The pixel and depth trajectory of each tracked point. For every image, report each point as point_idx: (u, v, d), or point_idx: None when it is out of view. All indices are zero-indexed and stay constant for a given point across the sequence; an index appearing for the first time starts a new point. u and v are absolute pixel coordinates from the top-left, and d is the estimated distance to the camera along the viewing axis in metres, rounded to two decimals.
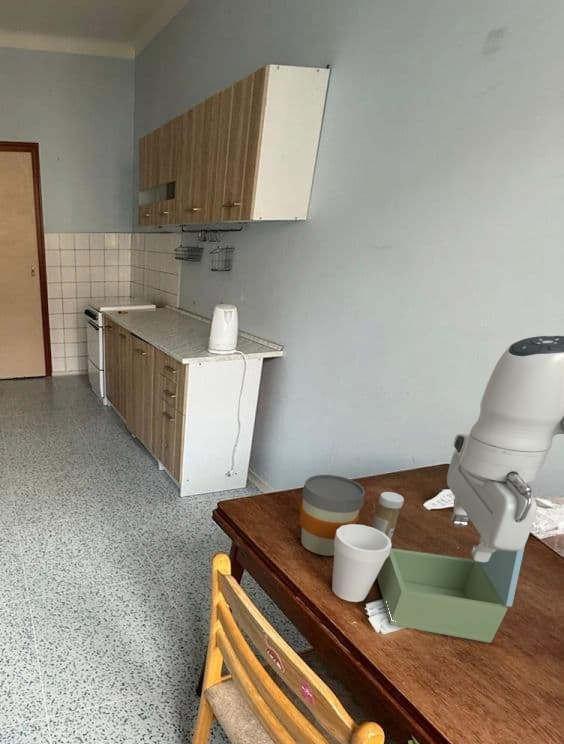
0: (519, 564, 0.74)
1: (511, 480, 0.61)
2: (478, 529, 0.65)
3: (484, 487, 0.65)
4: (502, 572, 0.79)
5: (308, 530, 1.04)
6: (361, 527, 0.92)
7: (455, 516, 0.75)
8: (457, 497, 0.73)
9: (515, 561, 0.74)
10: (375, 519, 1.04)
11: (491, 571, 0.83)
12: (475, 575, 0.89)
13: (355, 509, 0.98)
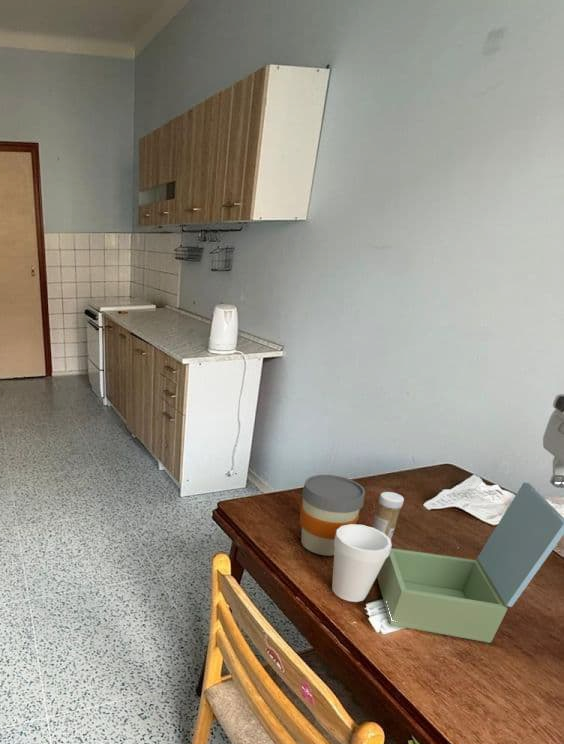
0: (538, 567, 0.74)
1: None
2: None
3: None
4: (512, 573, 0.79)
5: (308, 530, 1.04)
6: (361, 527, 0.92)
7: (555, 477, 0.76)
8: (559, 457, 0.74)
9: (536, 563, 0.74)
10: (375, 519, 1.04)
11: (495, 571, 0.83)
12: (475, 575, 0.89)
13: (355, 509, 0.98)
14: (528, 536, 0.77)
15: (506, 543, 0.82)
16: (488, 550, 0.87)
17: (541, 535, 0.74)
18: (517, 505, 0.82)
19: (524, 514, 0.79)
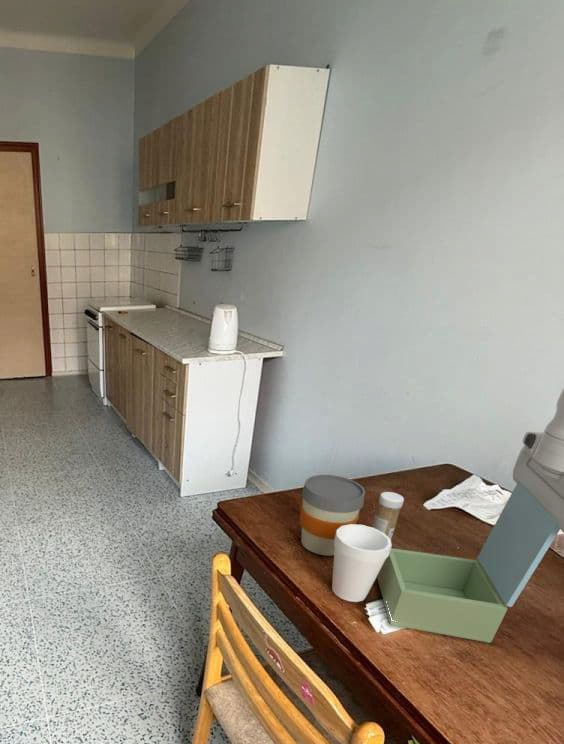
0: (535, 566, 0.74)
1: None
2: None
3: (559, 480, 0.71)
4: (510, 572, 0.79)
5: (308, 530, 1.04)
6: (361, 527, 0.92)
7: None
8: None
9: (532, 563, 0.74)
10: (375, 519, 1.04)
11: (494, 571, 0.83)
12: (475, 575, 0.89)
13: (355, 509, 0.98)
14: (524, 535, 0.77)
15: (504, 543, 0.82)
16: (487, 550, 0.87)
17: (536, 534, 0.74)
18: (513, 504, 0.82)
19: (520, 513, 0.79)
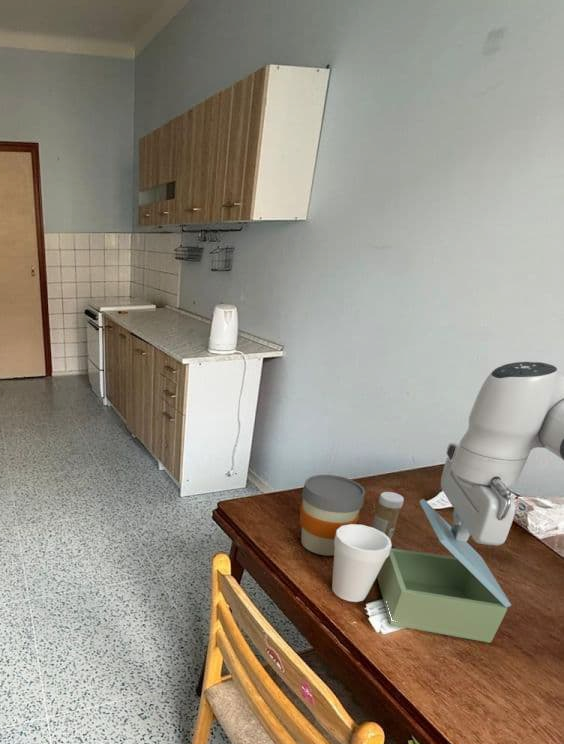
0: (476, 572, 0.77)
1: (494, 484, 0.71)
2: (466, 526, 0.76)
3: (472, 490, 0.75)
4: None
5: (308, 530, 1.04)
6: (361, 527, 0.92)
7: (454, 527, 0.82)
8: (449, 498, 0.83)
9: (471, 572, 0.77)
10: (375, 519, 1.04)
11: None
12: None
13: (355, 509, 0.98)
14: None
15: None
16: None
17: None
18: None
19: None
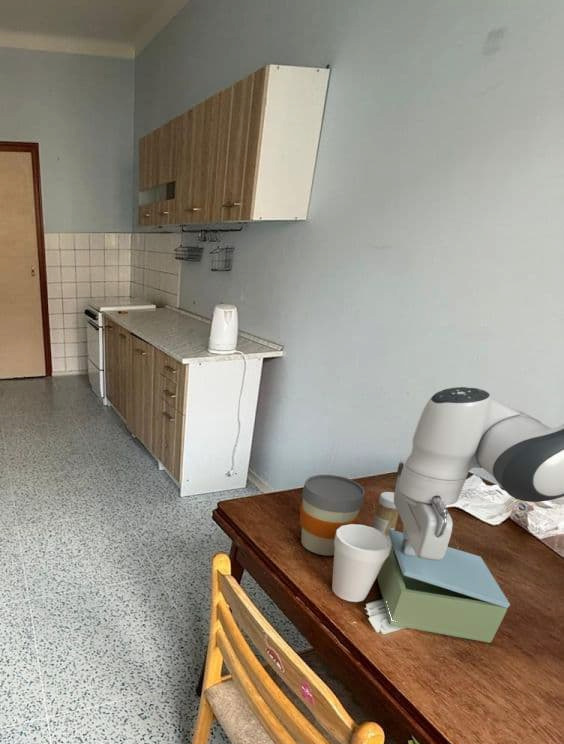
0: (455, 588, 0.79)
1: (434, 503, 0.75)
2: (411, 542, 0.80)
3: (416, 507, 0.79)
4: None
5: (308, 530, 1.04)
6: (361, 527, 0.92)
7: (404, 541, 0.86)
8: (399, 514, 0.87)
9: (450, 589, 0.80)
10: (375, 519, 1.04)
11: None
12: None
13: (355, 509, 0.98)
14: None
15: None
16: None
17: None
18: None
19: None
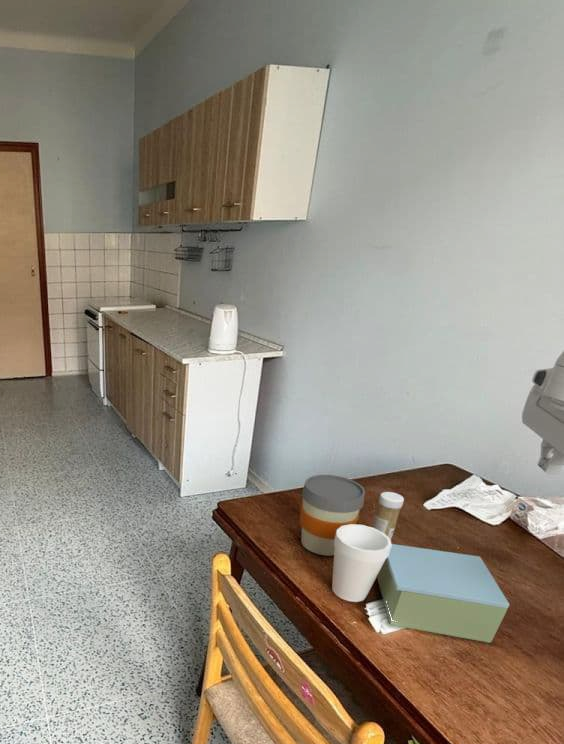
0: (450, 595, 0.80)
1: None
2: None
3: None
4: None
5: (308, 530, 1.04)
6: (361, 527, 0.92)
7: (543, 459, 0.76)
8: (536, 430, 0.77)
9: (446, 597, 0.81)
10: (375, 519, 1.04)
11: None
12: None
13: (355, 509, 0.98)
14: None
15: None
16: None
17: None
18: None
19: None
